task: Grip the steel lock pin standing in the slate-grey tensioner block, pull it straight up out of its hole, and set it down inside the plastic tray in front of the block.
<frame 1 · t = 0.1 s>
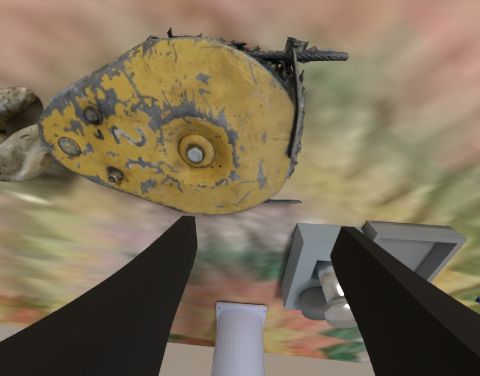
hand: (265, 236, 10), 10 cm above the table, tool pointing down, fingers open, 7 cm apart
lock pin: (319, 249, 24), resting in tensioner block
tray: (383, 263, 24), on the table
tensioner block: (315, 260, 25), on the table
pulley block: (149, 129, 18), on the table
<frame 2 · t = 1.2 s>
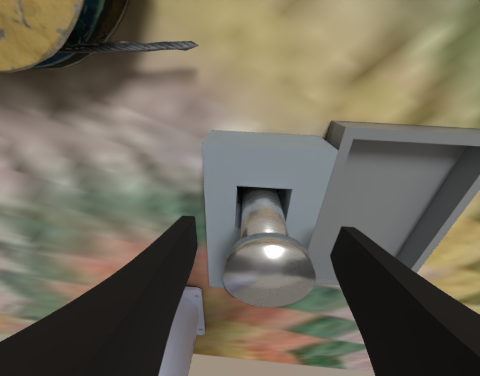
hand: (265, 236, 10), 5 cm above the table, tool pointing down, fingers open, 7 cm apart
lock pin: (259, 186, 14), resting in tensioner block
tray: (366, 210, 15), on the table
tensioner block: (257, 208, 15), on the table
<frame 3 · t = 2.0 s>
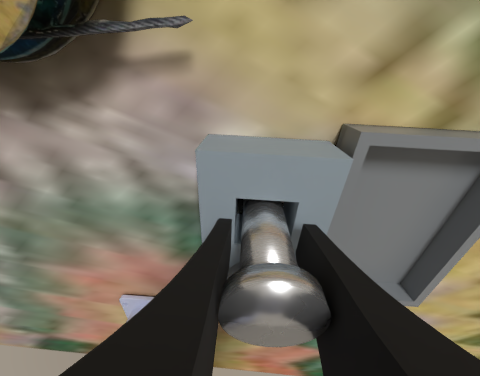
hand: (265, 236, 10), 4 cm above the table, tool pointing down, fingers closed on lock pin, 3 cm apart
lock pin: (261, 196, 13), resting in tensioner block, touching gripper
tray: (378, 221, 14), on the table
tensioner block: (258, 219, 14), on the table
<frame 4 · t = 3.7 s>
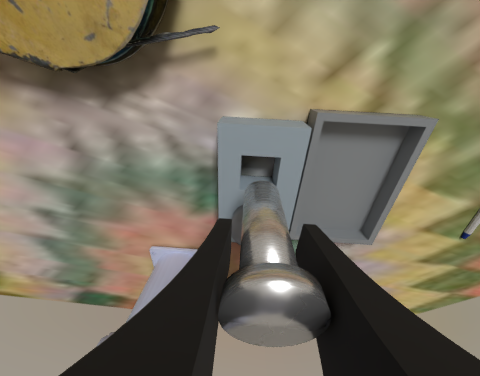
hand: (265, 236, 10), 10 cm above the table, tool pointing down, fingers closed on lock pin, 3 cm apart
lock pin: (261, 195, 13), point 6 cm above the table, touching gripper
tray: (340, 180, 19), on the table
tensioner block: (256, 179, 20), on the table
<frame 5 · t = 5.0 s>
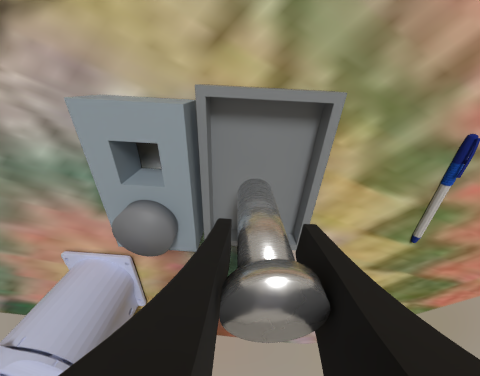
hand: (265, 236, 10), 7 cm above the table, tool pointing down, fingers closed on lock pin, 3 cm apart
lock pin: (254, 194, 13), point 3 cm above the table, touching gripper
tray: (258, 174, 16), on the table
ballpoint pen: (433, 193, 17), on the table
tensioner block: (160, 173, 17), on the table
when the fingers open (6 cm above the table, at t = 5.6 s): lock pin drops 2 cm, resting on tray.
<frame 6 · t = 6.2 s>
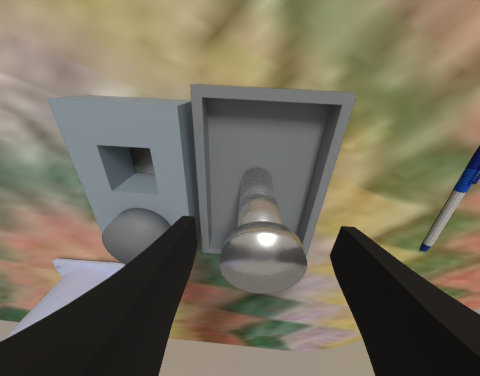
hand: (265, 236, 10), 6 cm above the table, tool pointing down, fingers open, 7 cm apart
lock pin: (256, 181, 15), point 1 cm above the table, touching tray
tray: (259, 179, 15), on the table
ballpoint pen: (445, 199, 16), on the table
tensioner block: (155, 178, 16), on the table
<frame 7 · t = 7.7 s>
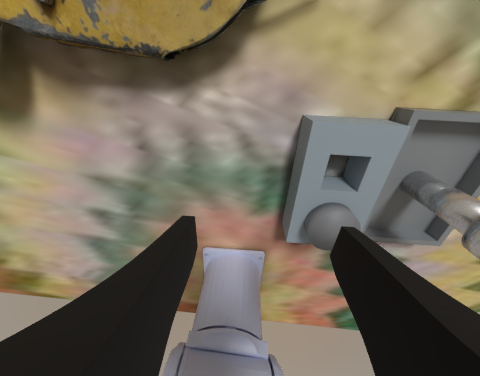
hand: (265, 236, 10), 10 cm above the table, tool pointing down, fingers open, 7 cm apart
lock pin: (414, 182, 18), point 1 cm above the table, touching tray
tray: (412, 180, 19), on the table
tensioner block: (325, 179, 19), on the table
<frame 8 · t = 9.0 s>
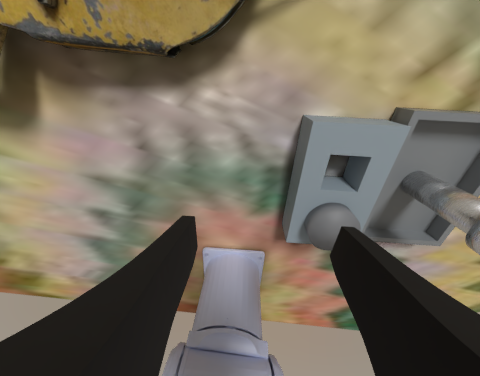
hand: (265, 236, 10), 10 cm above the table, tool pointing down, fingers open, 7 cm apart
lock pin: (414, 182, 18), point 1 cm above the table, touching tray
tray: (412, 180, 19), on the table
tensioner block: (325, 179, 19), on the table
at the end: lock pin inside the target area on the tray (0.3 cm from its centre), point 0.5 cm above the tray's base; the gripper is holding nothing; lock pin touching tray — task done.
